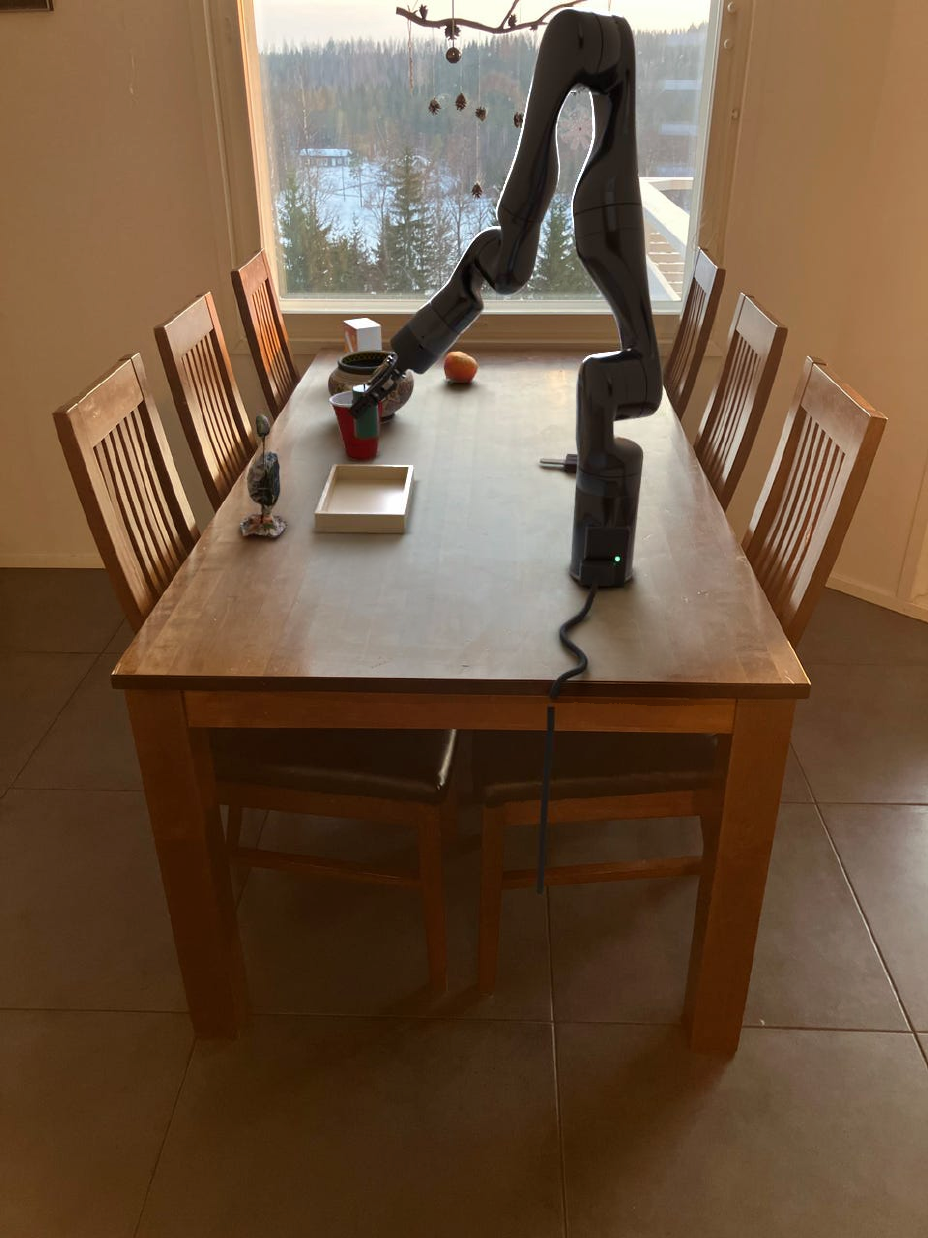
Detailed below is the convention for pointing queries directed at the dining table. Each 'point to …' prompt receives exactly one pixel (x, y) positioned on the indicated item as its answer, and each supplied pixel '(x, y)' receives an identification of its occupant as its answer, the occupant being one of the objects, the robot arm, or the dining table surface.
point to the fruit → (459, 367)
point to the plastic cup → (353, 428)
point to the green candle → (366, 416)
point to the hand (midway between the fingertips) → (354, 410)
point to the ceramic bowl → (358, 371)
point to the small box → (362, 335)
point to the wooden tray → (365, 499)
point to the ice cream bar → (563, 462)
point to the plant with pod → (264, 488)
